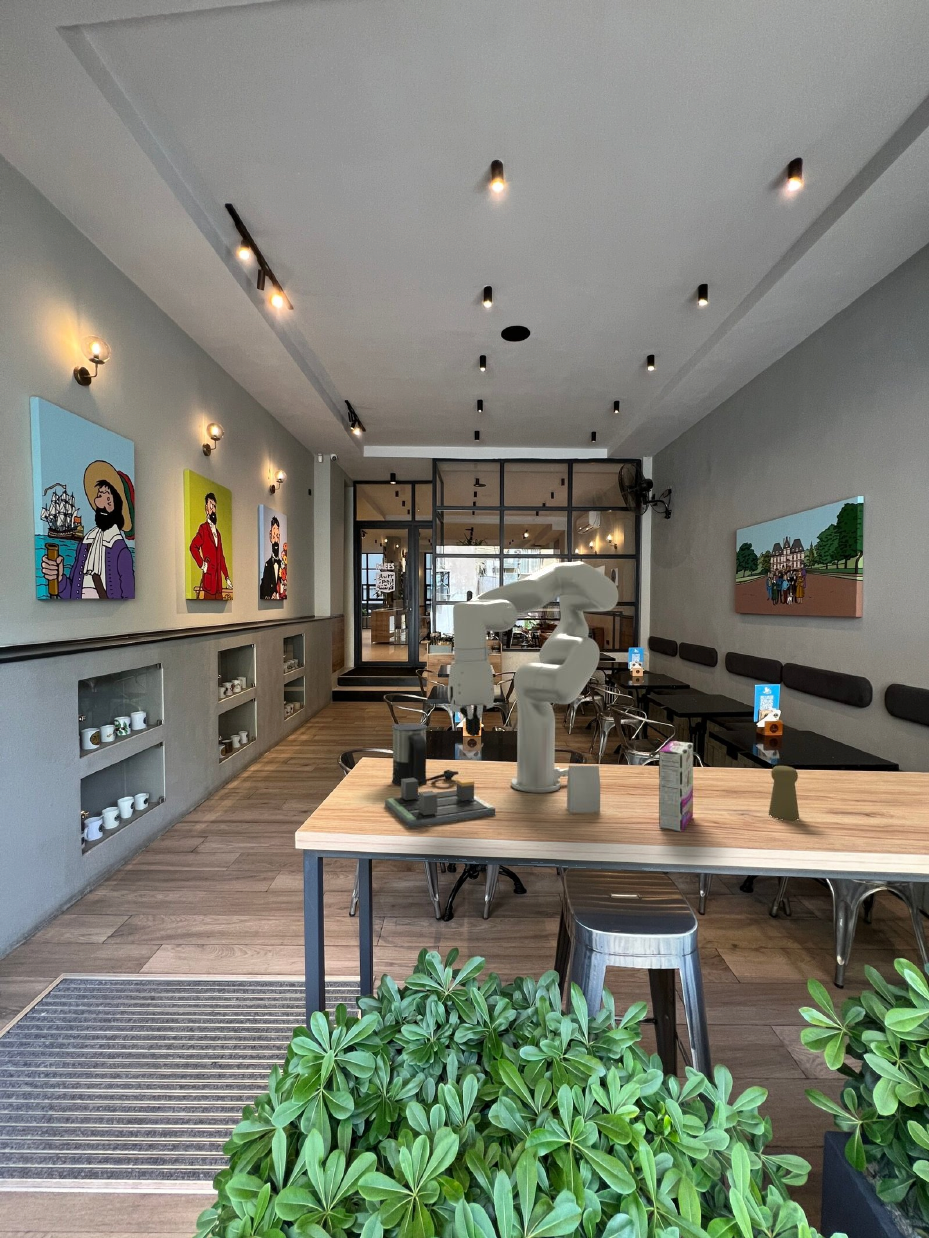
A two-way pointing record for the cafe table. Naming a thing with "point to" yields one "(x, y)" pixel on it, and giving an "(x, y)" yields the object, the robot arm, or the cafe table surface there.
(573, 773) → the grey boxy piece
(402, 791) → the block
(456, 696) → the robot arm
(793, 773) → the cork
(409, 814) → the panel
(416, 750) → the milk frother
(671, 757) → the candy bar box
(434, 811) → the breaker near
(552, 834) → the cafe table surface
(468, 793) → the block
